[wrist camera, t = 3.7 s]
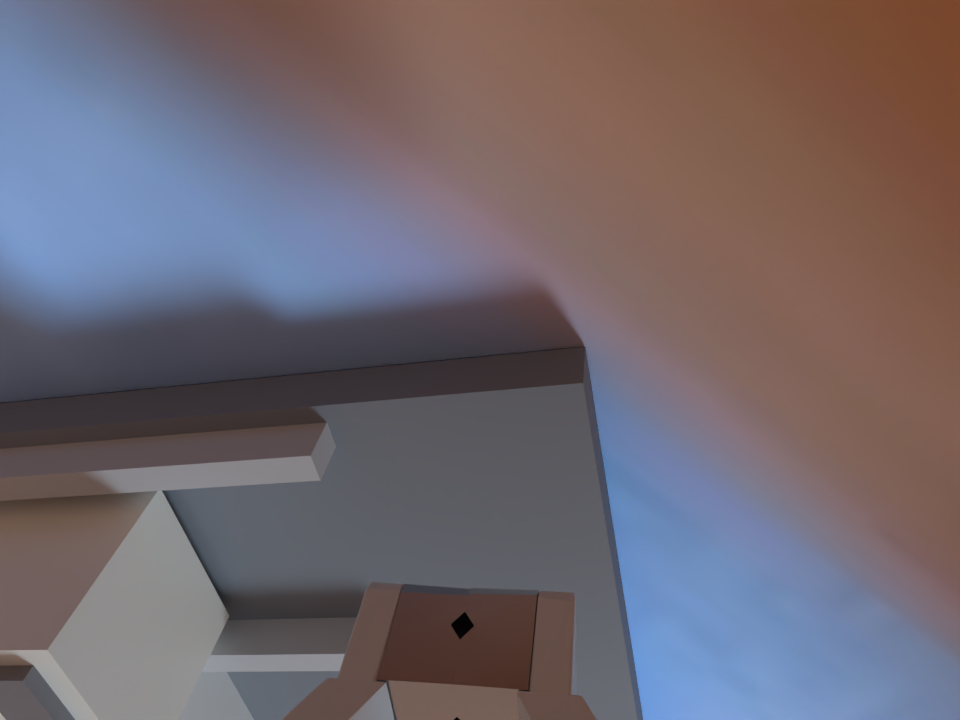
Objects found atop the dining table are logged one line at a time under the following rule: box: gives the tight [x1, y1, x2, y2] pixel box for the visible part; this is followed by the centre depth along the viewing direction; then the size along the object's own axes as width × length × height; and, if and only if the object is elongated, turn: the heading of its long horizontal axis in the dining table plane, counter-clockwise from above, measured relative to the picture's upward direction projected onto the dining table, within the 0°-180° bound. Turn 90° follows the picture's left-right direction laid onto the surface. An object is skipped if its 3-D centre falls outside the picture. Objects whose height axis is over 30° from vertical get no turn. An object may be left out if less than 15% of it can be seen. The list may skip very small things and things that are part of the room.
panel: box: [0, 347, 643, 720], centre depth 19 cm, size 20×14×4 cm
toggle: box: [0, 491, 229, 720], centre depth 16 cm, size 4×4×4 cm
